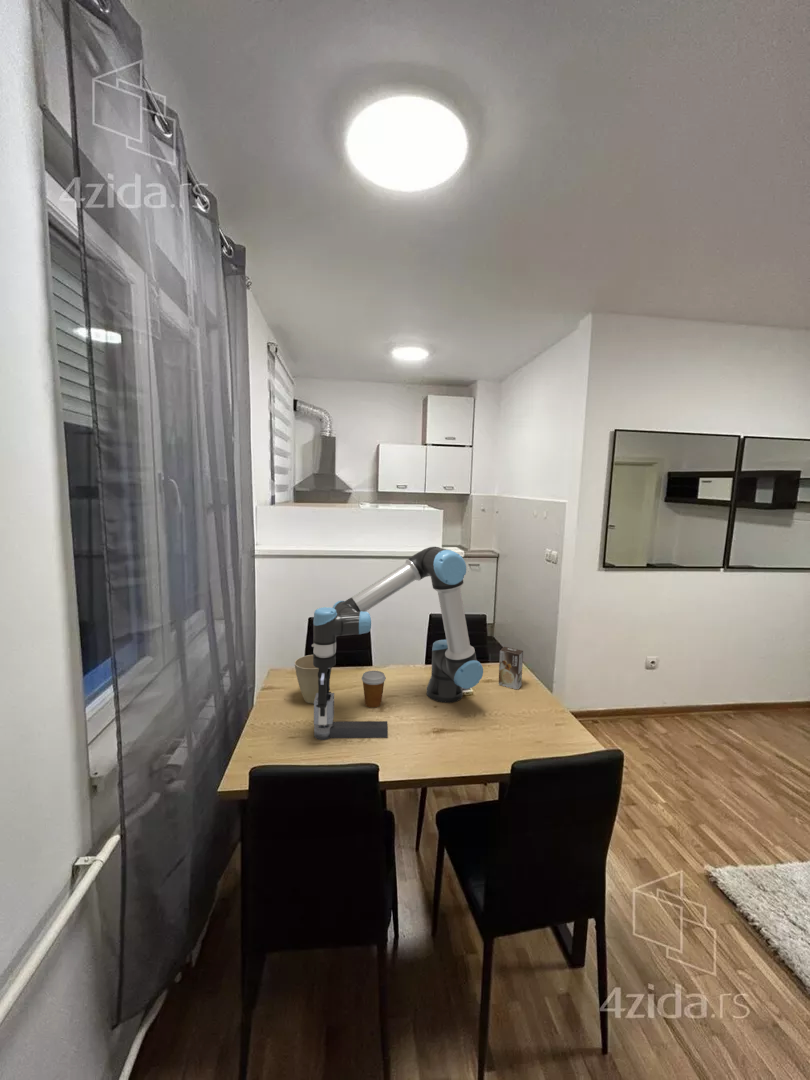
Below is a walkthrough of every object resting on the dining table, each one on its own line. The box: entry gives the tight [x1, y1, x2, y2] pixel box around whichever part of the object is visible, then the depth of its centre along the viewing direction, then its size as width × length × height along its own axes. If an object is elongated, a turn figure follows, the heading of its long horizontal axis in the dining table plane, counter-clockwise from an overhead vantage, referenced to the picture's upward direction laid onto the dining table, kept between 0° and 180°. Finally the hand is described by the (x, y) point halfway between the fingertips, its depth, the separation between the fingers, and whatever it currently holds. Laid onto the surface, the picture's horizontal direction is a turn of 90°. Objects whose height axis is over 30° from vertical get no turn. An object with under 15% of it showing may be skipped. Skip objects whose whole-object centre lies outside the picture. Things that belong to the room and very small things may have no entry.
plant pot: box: [294, 654, 333, 704], centre depth 175 cm, size 15×15×16 cm
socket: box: [313, 692, 335, 725], centre depth 150 cm, size 6×6×8 cm
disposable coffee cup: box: [361, 670, 386, 709], centre depth 173 cm, size 10×10×12 cm
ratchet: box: [313, 720, 389, 741], centre depth 151 cm, size 25×6×10 cm, turn 94°
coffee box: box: [497, 646, 524, 690], centre depth 194 cm, size 9×6×16 cm
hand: (323, 718), depth 150 cm, fingers closed on socket, 6 cm apart
